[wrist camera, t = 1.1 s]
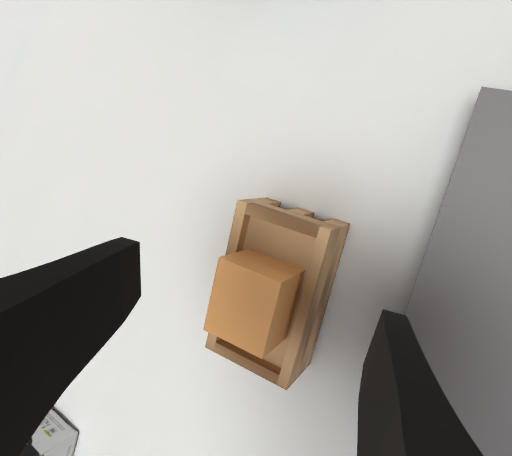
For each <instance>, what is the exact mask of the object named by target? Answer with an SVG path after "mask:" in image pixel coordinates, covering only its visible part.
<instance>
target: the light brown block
mask: <svg viewBox="0 0 512 456" xmlns="http://www.w3.org/2000/svg"><path fill="white" fill-rule="evenodd" d="M304 272H305V270H303V269H301V268H298V267H295V266H293V265H290V264H287V263H285V262H282V261H280V260H277V259H274V258H272V257H269V256H266V255H264V254H261V253H258V252H256V251H253V250H250V249H245V250H242V251H239V252H235V253H232V254H229V255H225V256H222V257H219V260H218V264H217V269H216V273H215V278H214V283H213V287H212V292H211V297H210V301H209V306H208V310H207V315H206V320H205V324H204V329H203V330H205V331H207V332H209V333H211V334H213V335H215V336H217V337H219V338H221V339H223V340H225V341H227V342H229V343H231V344H233V345H235V346H237V347H239V348H241V349H243V350H245V351H247V352H249V353H251V354H253V355H255V356H257V357H259V358H261V359H262V358H264V357H265V356H266V355H267V354H268V353H270V352H271V351H272V350H273V349H274V348H275V347H277V346H278V345H279V344H280V343H281V342H283V341H284V340H285V339H286V338H287V335H288V331H289V328H290V324H291V320H292V317H293V313H294V309H295V305H296V302H297V298H298V294H299V291H300V287H301V283H302V279H303V276H304Z"/></svg>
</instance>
